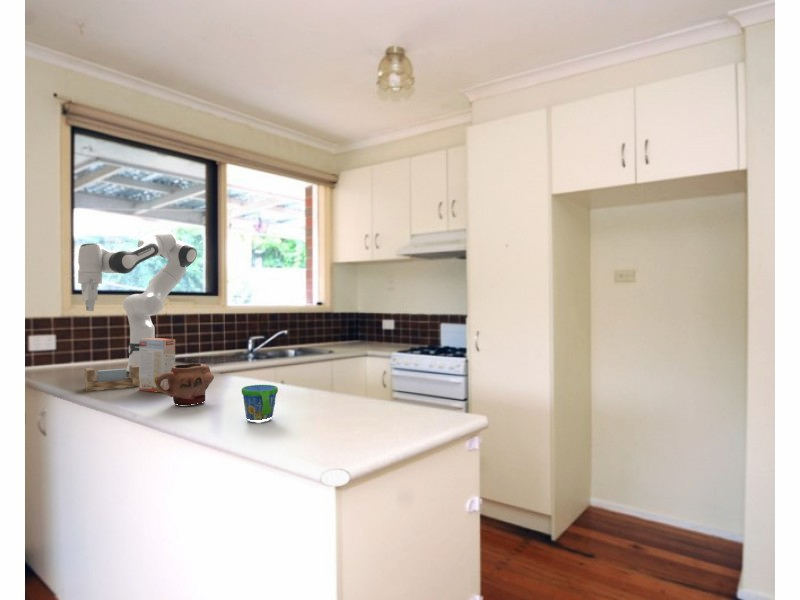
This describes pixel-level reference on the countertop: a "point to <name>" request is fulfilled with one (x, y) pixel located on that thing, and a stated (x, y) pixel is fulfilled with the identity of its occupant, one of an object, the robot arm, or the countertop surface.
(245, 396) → the snack cup
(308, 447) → the countertop surface
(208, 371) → the brown mug
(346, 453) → the countertop surface
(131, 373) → the track frame
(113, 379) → the door panel
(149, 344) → the cracker box
